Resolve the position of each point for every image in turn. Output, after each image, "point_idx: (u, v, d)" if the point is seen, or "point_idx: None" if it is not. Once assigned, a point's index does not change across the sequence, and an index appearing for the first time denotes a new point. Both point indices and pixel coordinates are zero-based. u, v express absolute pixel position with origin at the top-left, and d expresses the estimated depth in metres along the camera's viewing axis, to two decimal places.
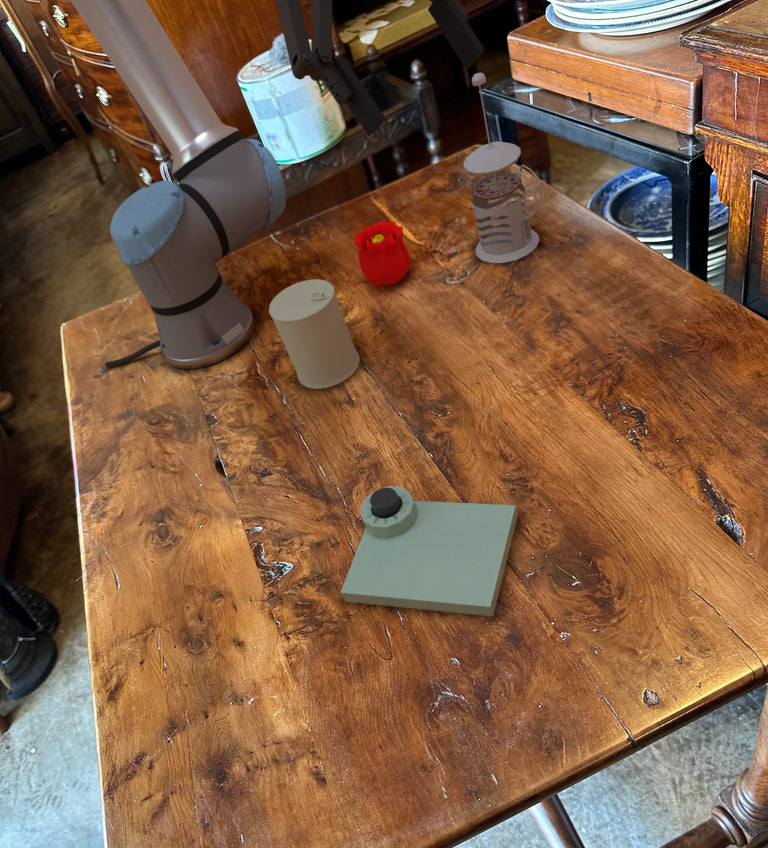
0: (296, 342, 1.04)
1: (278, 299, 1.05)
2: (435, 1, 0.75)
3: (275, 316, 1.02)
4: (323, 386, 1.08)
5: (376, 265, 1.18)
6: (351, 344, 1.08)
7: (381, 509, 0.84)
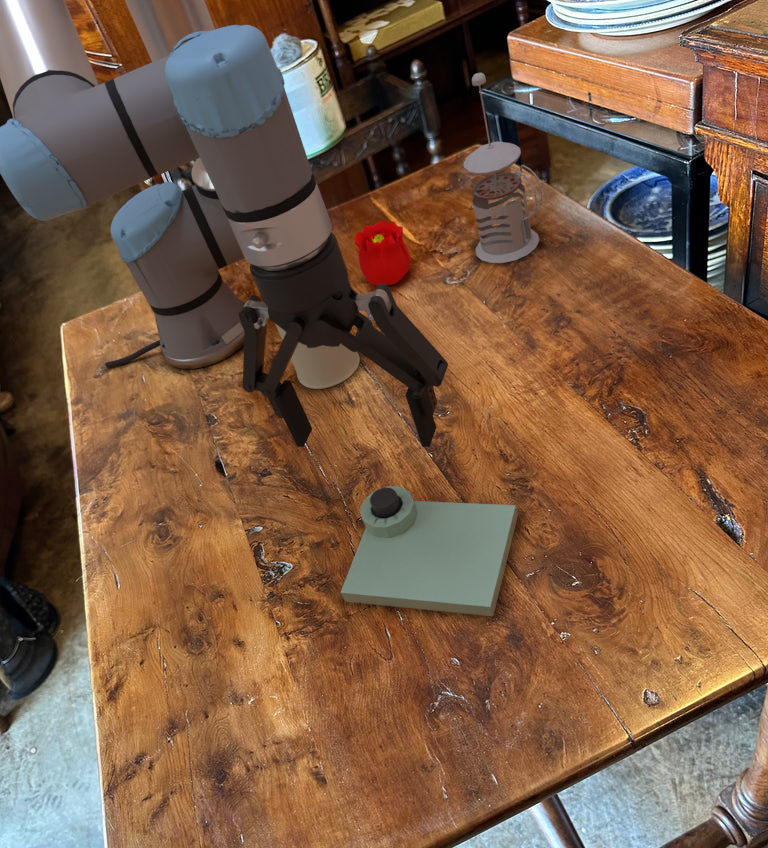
0: None
1: None
2: (409, 388, 0.72)
3: None
4: (323, 386, 1.08)
5: (376, 265, 1.18)
6: None
7: (381, 509, 0.84)
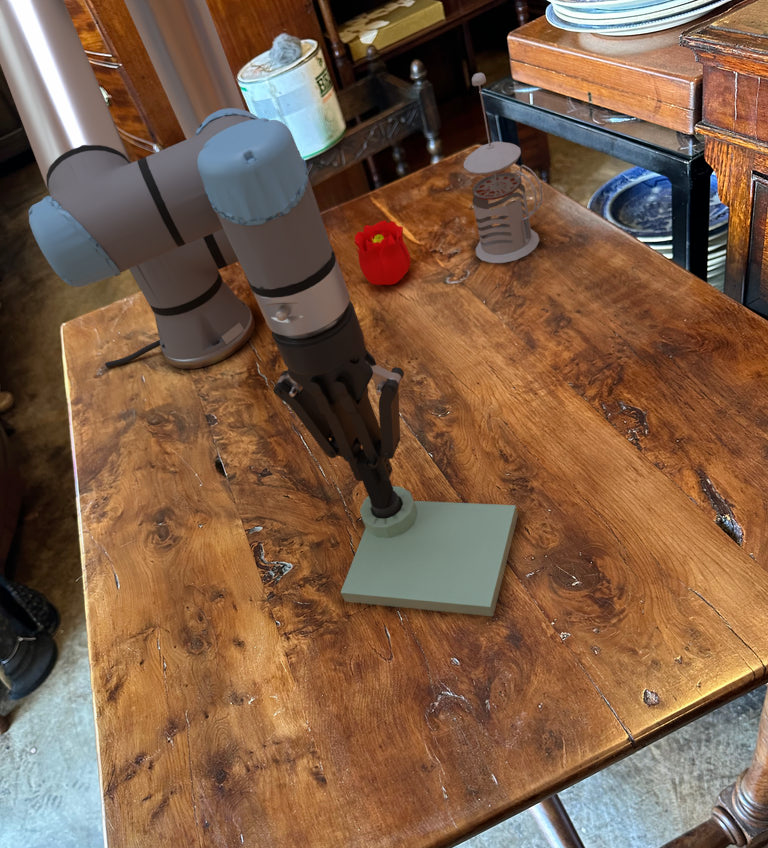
0: None
1: None
2: None
3: None
4: None
5: (376, 265, 1.18)
6: None
7: (381, 511, 0.84)
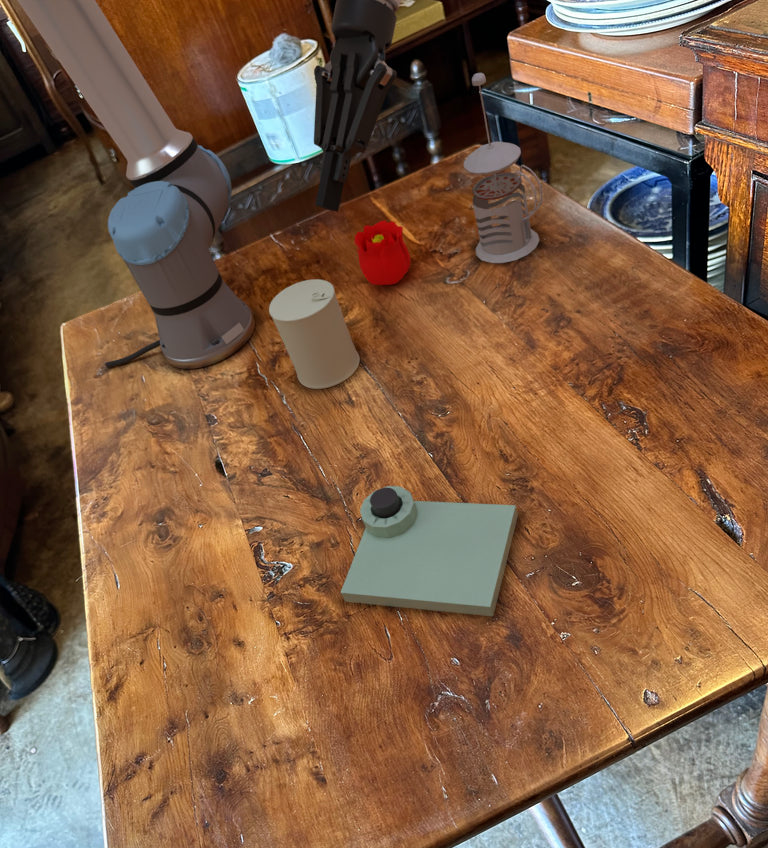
0: (296, 341, 1.04)
1: (278, 299, 1.05)
2: None
3: (275, 316, 1.02)
4: (323, 386, 1.08)
5: (376, 265, 1.18)
6: (351, 344, 1.08)
7: (381, 509, 0.84)
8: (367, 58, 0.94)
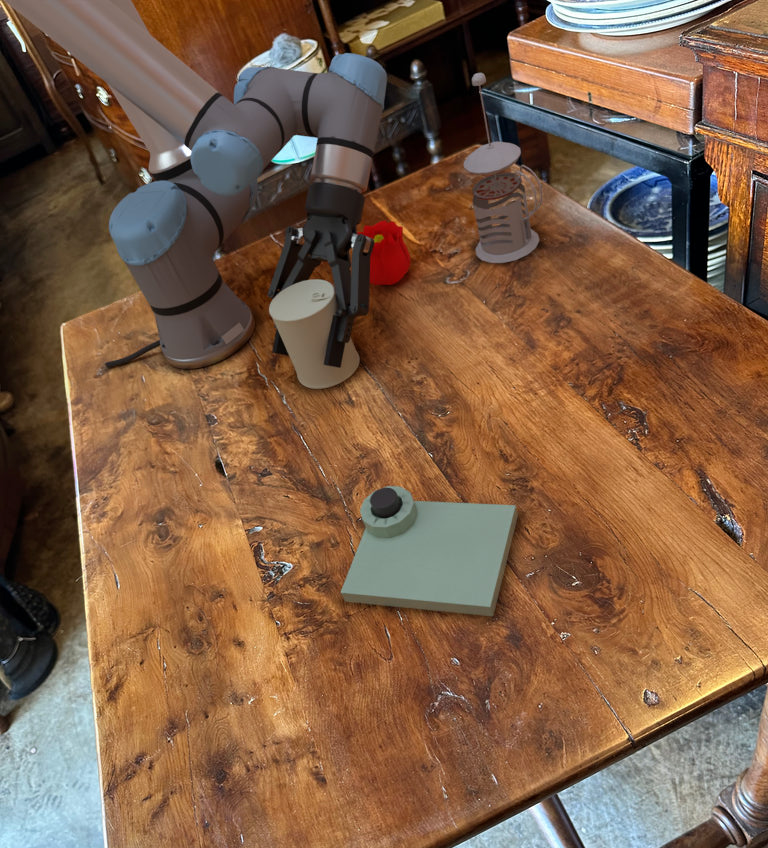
0: (296, 342, 1.04)
1: (278, 299, 1.05)
2: None
3: (275, 316, 1.02)
4: (323, 386, 1.08)
5: (376, 265, 1.18)
6: (351, 344, 1.08)
7: (381, 509, 0.84)
8: (341, 238, 1.02)
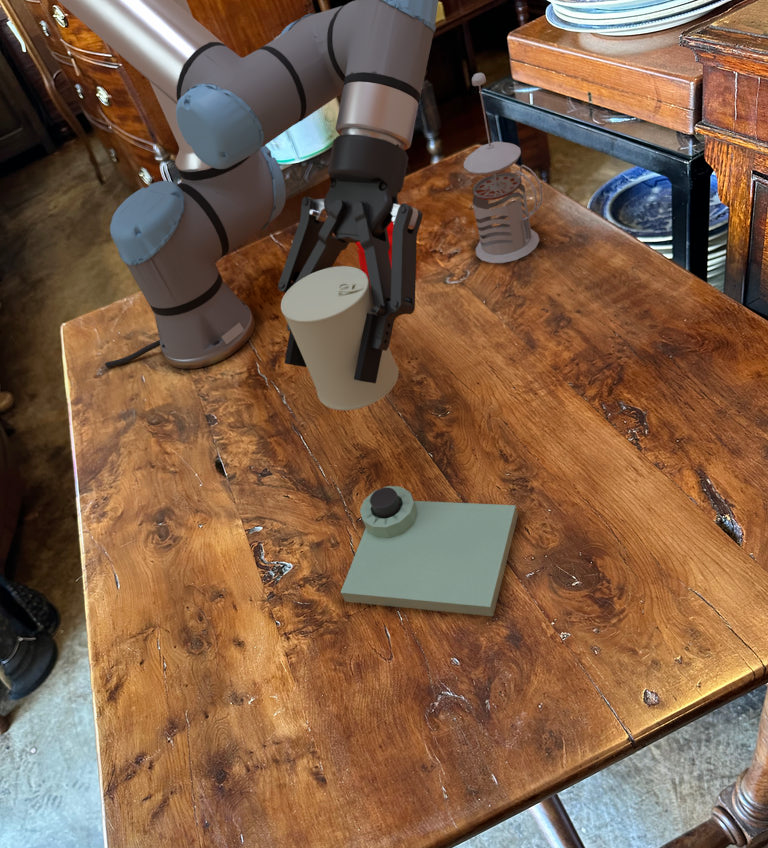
0: (318, 349, 0.78)
1: (293, 292, 0.79)
2: None
3: (289, 315, 0.76)
4: (352, 407, 0.82)
5: None
6: (388, 351, 0.82)
7: (381, 509, 0.84)
8: (378, 210, 0.76)
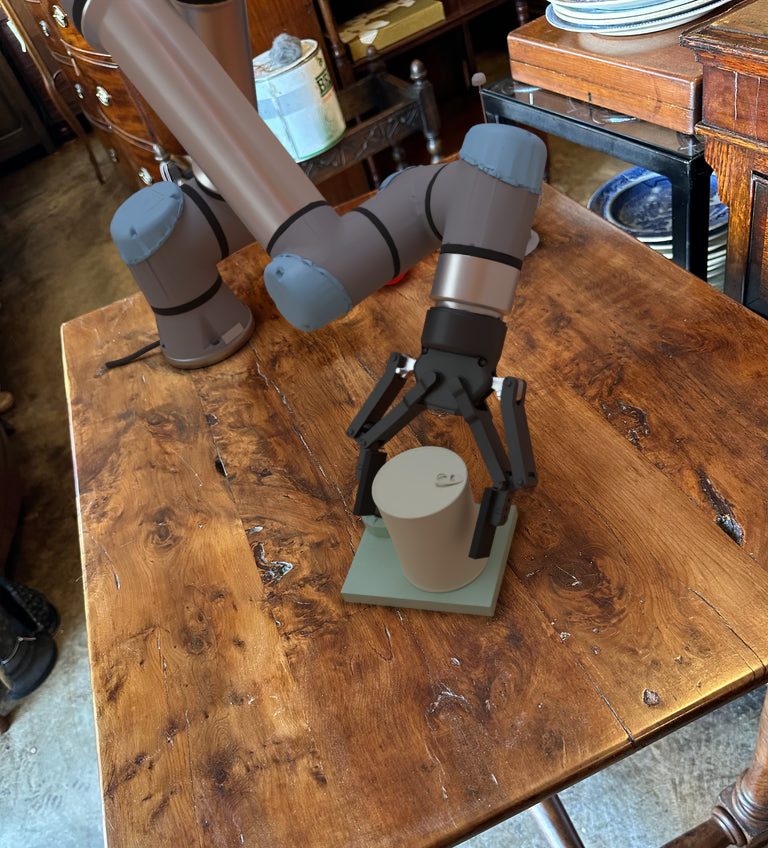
0: (412, 541, 0.73)
1: (384, 476, 0.75)
2: (380, 454, 0.78)
3: (383, 508, 0.72)
4: (442, 590, 0.78)
5: None
6: None
7: None
8: (477, 387, 0.70)
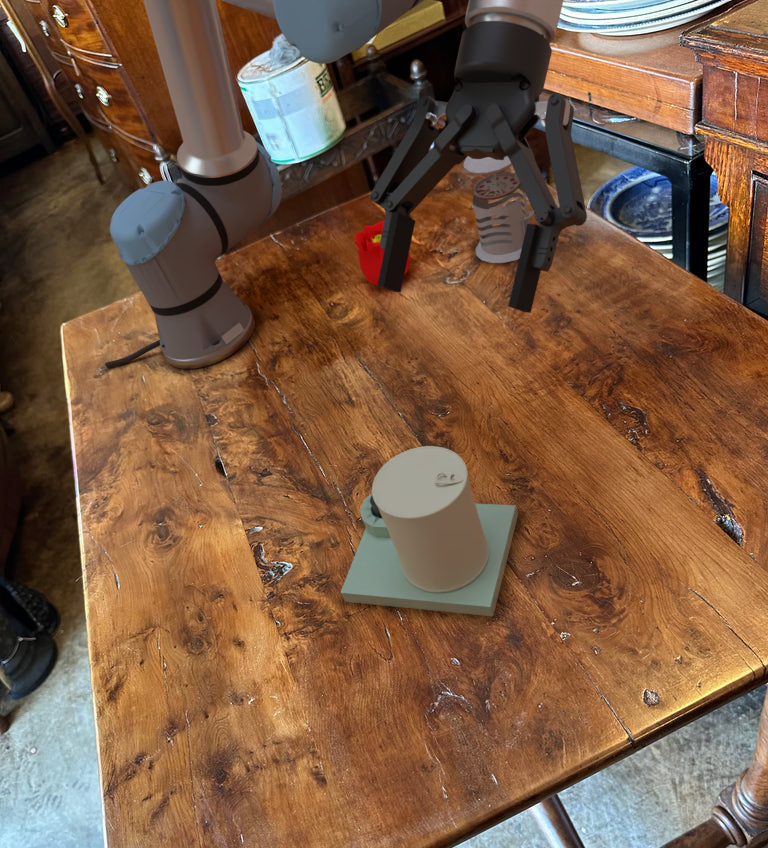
0: (412, 541, 0.73)
1: (384, 476, 0.75)
2: (407, 219, 0.71)
3: (383, 508, 0.72)
4: (442, 590, 0.78)
5: (376, 265, 1.18)
6: (481, 532, 0.78)
7: None
8: (518, 114, 0.63)
